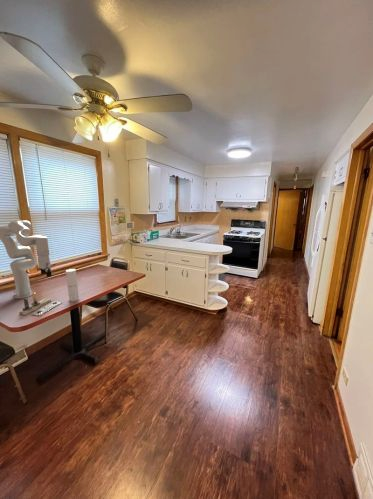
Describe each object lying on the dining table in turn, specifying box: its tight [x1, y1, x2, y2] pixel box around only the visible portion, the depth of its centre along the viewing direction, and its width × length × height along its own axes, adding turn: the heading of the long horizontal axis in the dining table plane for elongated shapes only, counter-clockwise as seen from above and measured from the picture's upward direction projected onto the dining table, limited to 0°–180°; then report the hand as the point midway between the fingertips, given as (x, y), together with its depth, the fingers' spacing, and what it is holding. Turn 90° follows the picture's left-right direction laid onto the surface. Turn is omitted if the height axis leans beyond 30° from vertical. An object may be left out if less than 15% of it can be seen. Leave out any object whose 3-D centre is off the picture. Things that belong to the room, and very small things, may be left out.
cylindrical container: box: [65, 268, 80, 302], centre depth 169 cm, size 7×7×25 cm
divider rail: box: [18, 297, 52, 316], centre depth 157 cm, size 5×22×10 cm, turn 169°
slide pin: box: [30, 292, 40, 306], centre depth 156 cm, size 5×3×9 cm, turn 79°
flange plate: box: [31, 300, 63, 317], centre depth 156 cm, size 7×20×1 cm, turn 169°
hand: (46, 275), depth 157 cm, fingers open, 9 cm apart
